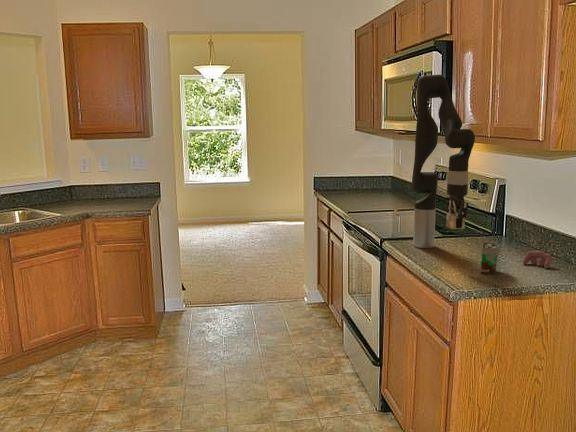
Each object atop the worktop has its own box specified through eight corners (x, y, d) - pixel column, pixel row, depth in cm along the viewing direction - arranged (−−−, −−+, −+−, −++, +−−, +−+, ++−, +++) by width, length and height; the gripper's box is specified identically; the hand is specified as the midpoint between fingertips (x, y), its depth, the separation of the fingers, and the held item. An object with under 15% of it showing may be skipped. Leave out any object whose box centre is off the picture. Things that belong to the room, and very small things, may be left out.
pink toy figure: (550, 271, 215) (555, 254, 216) (546, 268, 212) (551, 251, 213) (525, 266, 222) (529, 249, 223) (521, 263, 219) (525, 246, 220)
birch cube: (446, 226, 216) (446, 213, 215) (458, 225, 217) (458, 213, 216) (452, 229, 211) (452, 216, 210) (464, 228, 212) (465, 215, 211)
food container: (498, 276, 204) (500, 249, 203) (480, 274, 207) (482, 248, 205) (499, 267, 216) (500, 242, 214) (482, 266, 218) (483, 241, 216)
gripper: (439, 180, 217) (437, 223, 220) (457, 185, 203) (455, 231, 206) (457, 179, 218) (455, 222, 222) (476, 184, 204) (473, 229, 208)
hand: (455, 226), depth 214 cm, fingers closed on birch cube, 5 cm apart
